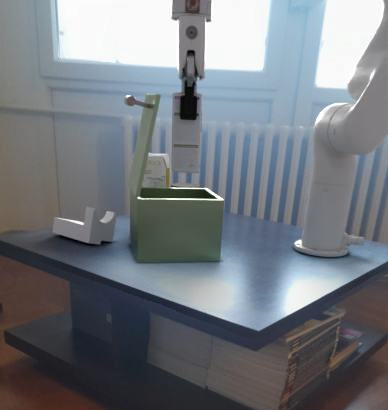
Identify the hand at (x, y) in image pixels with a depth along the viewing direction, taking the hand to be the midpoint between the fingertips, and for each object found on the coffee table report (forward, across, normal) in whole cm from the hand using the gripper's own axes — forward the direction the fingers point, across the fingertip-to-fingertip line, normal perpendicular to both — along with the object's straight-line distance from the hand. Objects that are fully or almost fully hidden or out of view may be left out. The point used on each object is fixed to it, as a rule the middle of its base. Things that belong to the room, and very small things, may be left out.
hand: (187, 118), depth 99 cm
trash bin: (+27, +1, +2) cm, 27 cm away
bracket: (+28, +10, +23) cm, 37 cm away
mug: (+28, +31, 0) cm, 41 cm away
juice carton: (+28, +17, +8) cm, 33 cm away
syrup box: (+10, 0, 0) cm, 10 cm away
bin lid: (+5, -1, +8) cm, 10 cm away
